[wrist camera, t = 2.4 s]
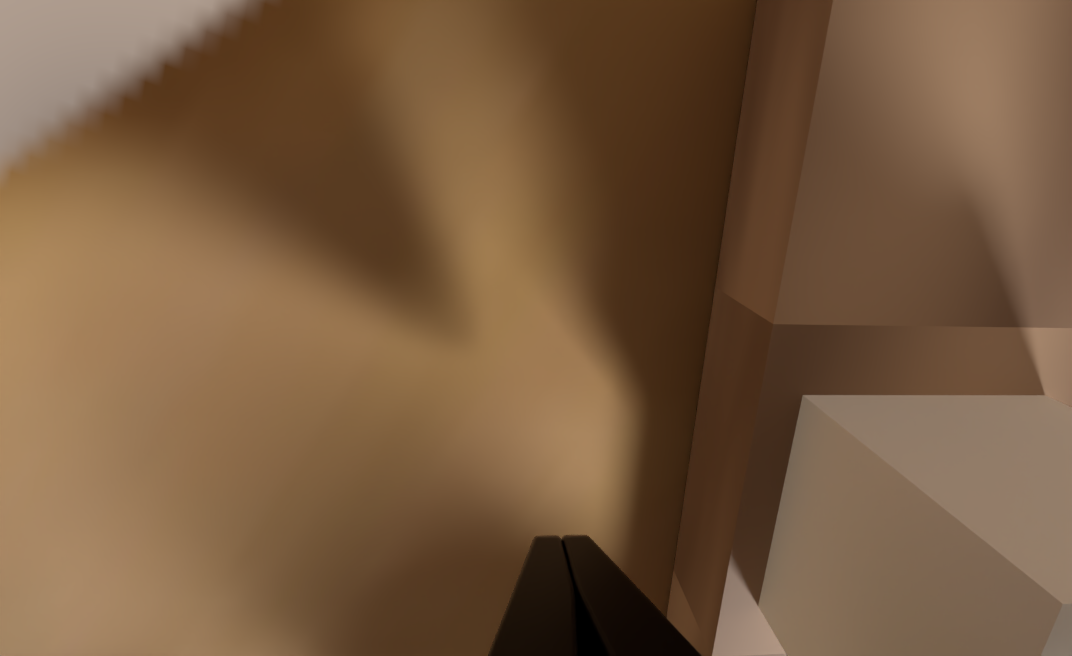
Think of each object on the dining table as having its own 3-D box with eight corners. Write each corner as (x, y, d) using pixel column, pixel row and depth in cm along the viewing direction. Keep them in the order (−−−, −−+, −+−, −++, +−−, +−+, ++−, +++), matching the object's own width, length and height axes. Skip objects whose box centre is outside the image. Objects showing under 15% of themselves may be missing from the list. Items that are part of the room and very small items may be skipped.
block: (1044, 394, 10) (1467, 588, 6) (971, 598, 11) (1265, 875, 7) (802, 394, 9) (1062, 604, 5) (758, 606, 11) (934, 905, 7)
